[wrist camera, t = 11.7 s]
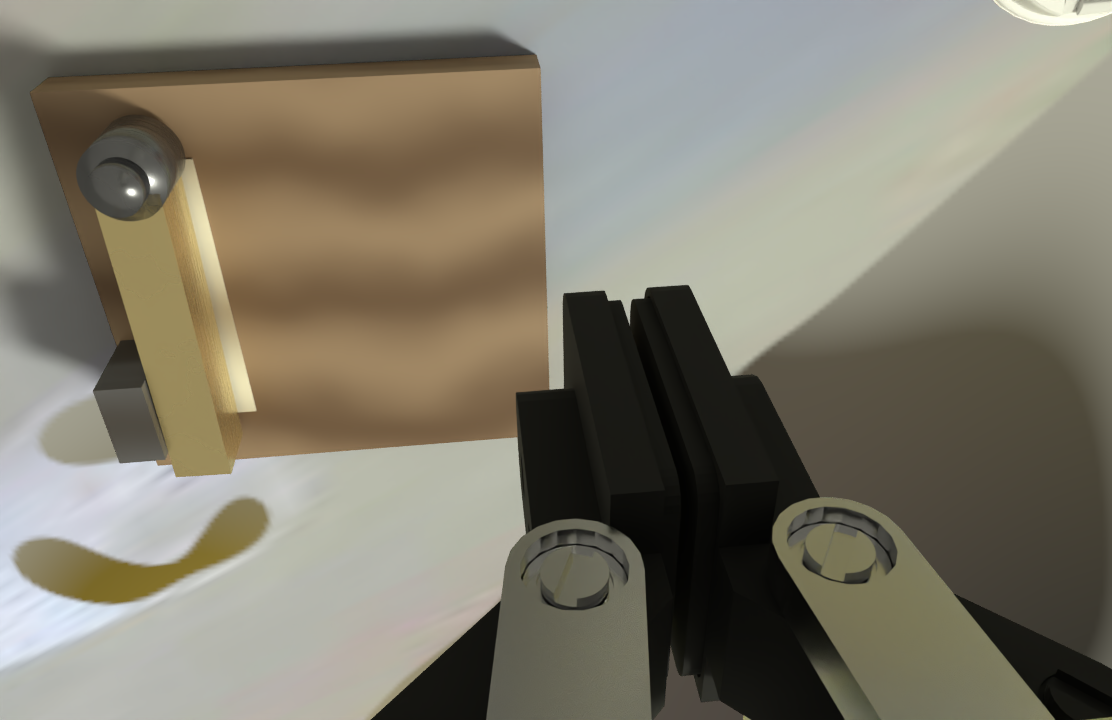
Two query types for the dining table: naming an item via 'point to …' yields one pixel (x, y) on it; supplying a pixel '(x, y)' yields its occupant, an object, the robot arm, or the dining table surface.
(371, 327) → the lock board
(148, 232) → the bar
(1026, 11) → the paper cup
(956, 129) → the dining table surface
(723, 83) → the dining table surface
